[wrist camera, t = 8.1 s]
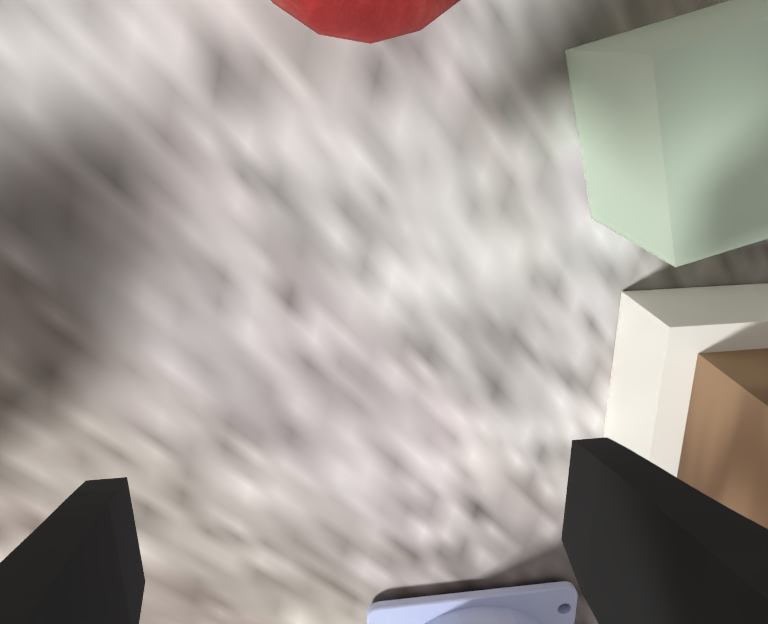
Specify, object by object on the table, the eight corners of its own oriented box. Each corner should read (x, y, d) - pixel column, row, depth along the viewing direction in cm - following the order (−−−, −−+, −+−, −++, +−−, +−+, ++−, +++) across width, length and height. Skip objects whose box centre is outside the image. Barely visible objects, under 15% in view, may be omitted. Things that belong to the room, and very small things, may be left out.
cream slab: (778, 458, 26) (838, 509, 23) (598, 475, 25) (637, 529, 22) (820, 280, 23) (894, 313, 20) (621, 291, 22) (669, 327, 19)
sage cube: (743, 170, 21) (870, 206, 17) (589, 217, 21) (675, 267, 17) (732, -1, 19) (873, -14, 15) (563, 49, 19) (652, 53, 15)
